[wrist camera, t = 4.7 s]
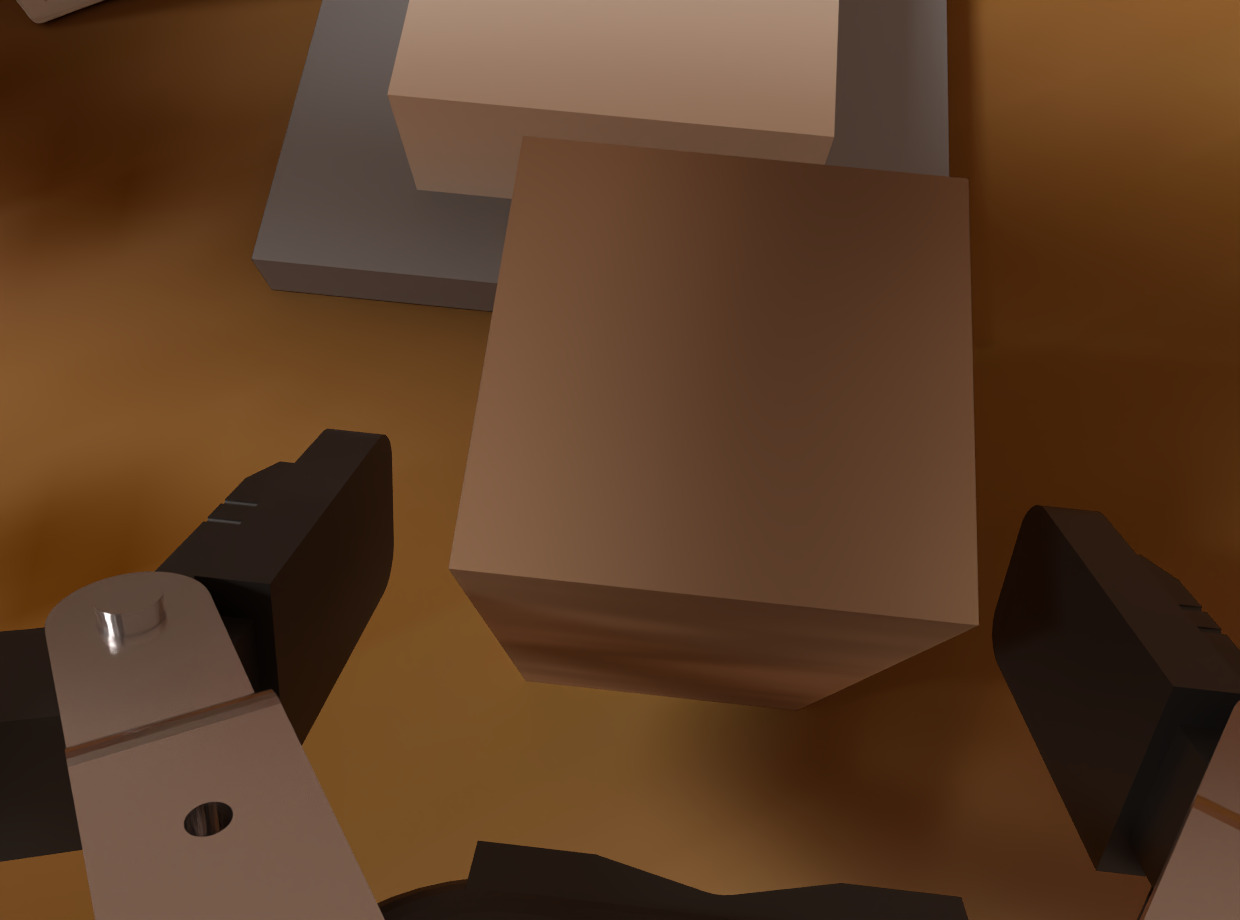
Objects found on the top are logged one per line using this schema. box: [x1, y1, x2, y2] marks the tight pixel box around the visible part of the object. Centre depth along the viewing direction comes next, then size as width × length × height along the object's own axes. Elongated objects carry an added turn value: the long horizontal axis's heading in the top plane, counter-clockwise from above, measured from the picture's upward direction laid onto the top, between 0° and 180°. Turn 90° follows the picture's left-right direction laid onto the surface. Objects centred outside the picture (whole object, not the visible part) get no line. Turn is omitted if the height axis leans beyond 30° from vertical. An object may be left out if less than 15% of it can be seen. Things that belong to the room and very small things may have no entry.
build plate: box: [251, 0, 949, 312], centre depth 20 cm, size 14×12×4 cm
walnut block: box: [449, 136, 979, 711], centre depth 14 cm, size 5×5×9 cm
